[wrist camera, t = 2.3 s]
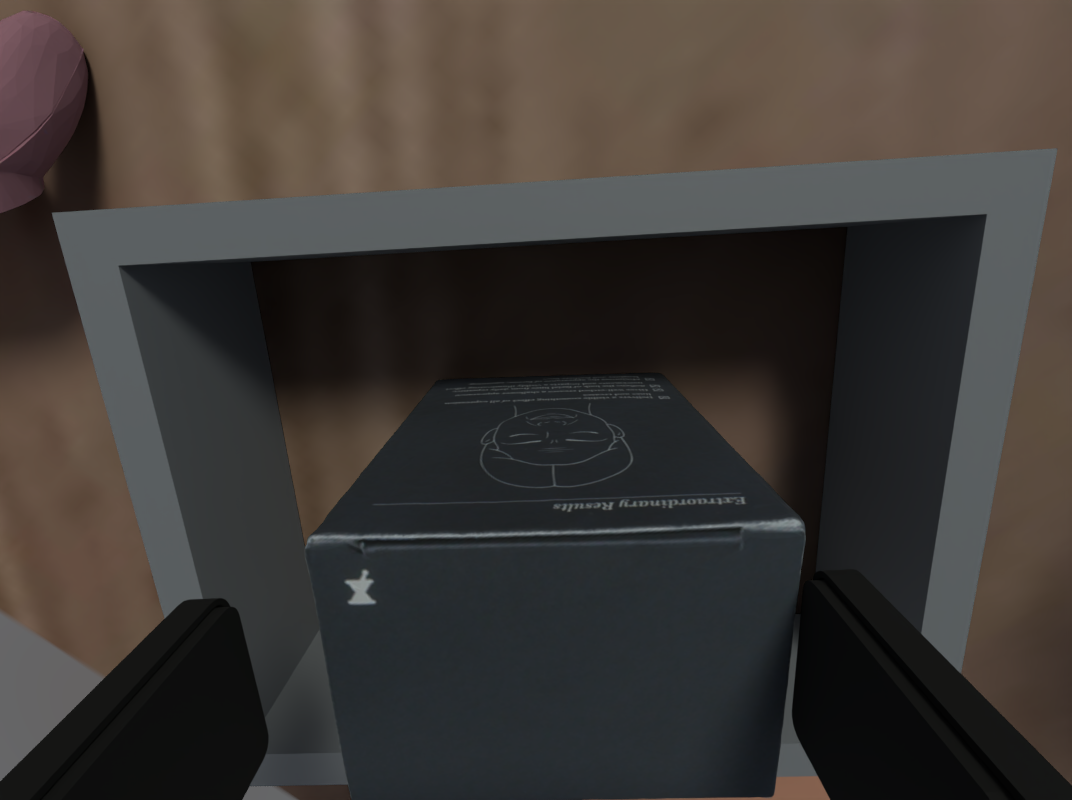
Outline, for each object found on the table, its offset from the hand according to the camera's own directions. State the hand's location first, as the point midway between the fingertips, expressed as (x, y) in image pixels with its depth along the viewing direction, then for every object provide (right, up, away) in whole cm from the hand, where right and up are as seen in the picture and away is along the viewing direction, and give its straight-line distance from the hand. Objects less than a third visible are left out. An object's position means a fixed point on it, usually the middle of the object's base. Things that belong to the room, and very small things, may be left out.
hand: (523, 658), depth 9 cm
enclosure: (+1, +2, +10) cm, 10 cm away
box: (+1, +3, +10) cm, 11 cm away
